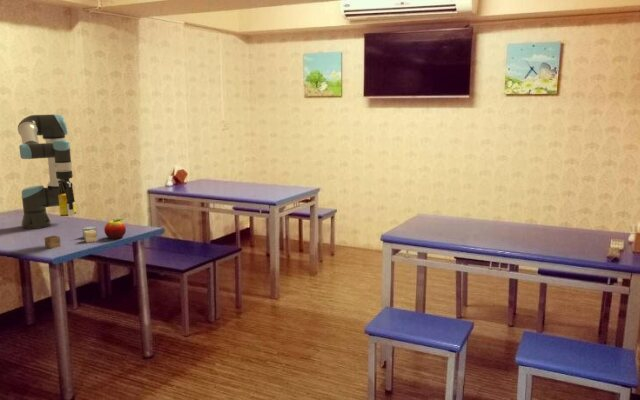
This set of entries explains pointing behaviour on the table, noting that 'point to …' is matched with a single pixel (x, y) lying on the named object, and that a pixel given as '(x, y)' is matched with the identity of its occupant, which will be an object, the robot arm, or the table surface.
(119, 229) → the fruit
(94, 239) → the maple cube
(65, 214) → the supplement box
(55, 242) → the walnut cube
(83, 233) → the sage-green cube
